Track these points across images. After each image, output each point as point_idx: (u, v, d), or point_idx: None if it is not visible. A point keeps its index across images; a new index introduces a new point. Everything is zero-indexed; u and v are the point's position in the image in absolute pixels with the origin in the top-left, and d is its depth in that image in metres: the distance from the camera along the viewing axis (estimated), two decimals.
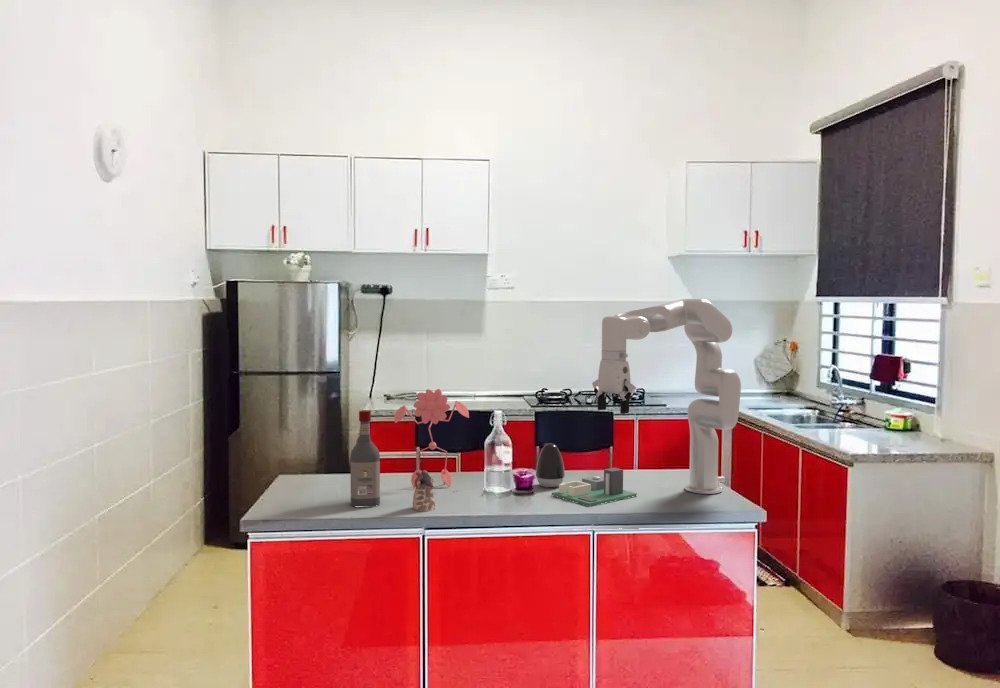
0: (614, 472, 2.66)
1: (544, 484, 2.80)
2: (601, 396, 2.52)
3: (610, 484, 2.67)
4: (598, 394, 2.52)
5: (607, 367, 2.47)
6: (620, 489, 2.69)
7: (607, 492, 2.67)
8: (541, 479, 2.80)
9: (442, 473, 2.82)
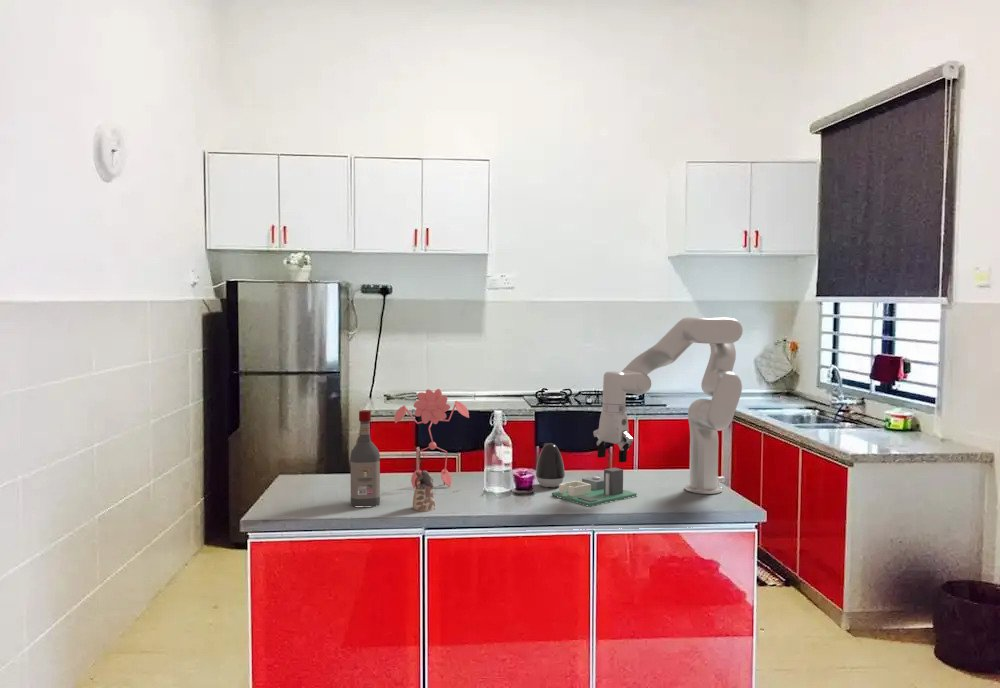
0: (614, 472, 2.66)
1: (544, 484, 2.80)
2: (601, 444, 2.72)
3: (610, 484, 2.67)
4: (598, 443, 2.72)
5: (607, 419, 2.67)
6: (620, 489, 2.69)
7: (607, 492, 2.67)
8: (541, 479, 2.80)
9: (442, 473, 2.82)
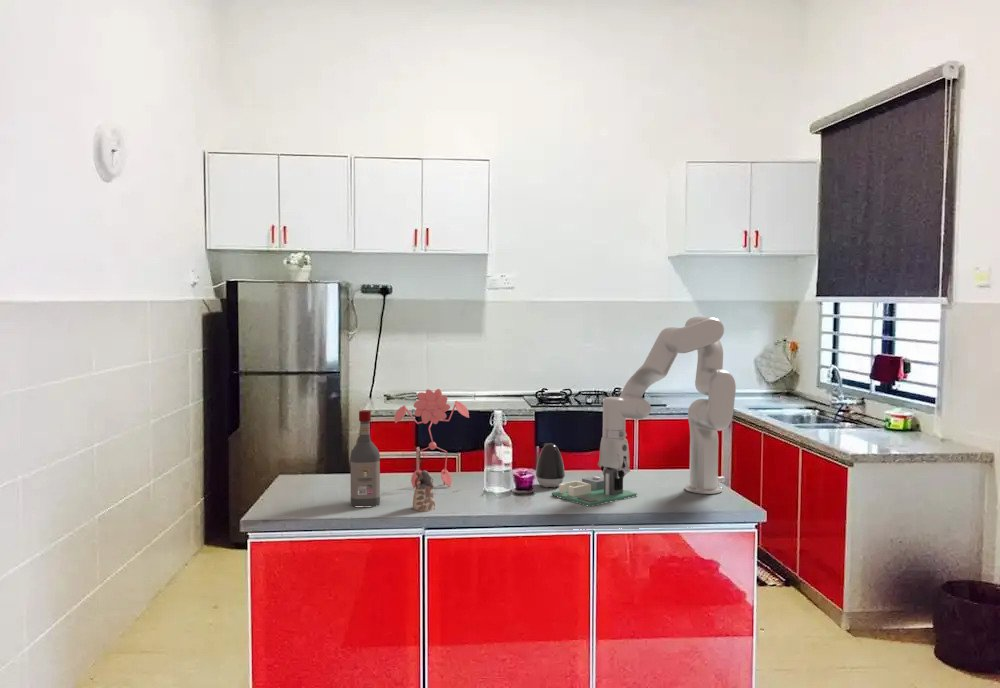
0: (614, 472, 2.66)
1: (544, 484, 2.80)
2: None
3: (610, 484, 2.67)
4: None
5: (608, 445, 2.67)
6: None
7: (607, 492, 2.67)
8: (541, 479, 2.80)
9: (442, 473, 2.82)
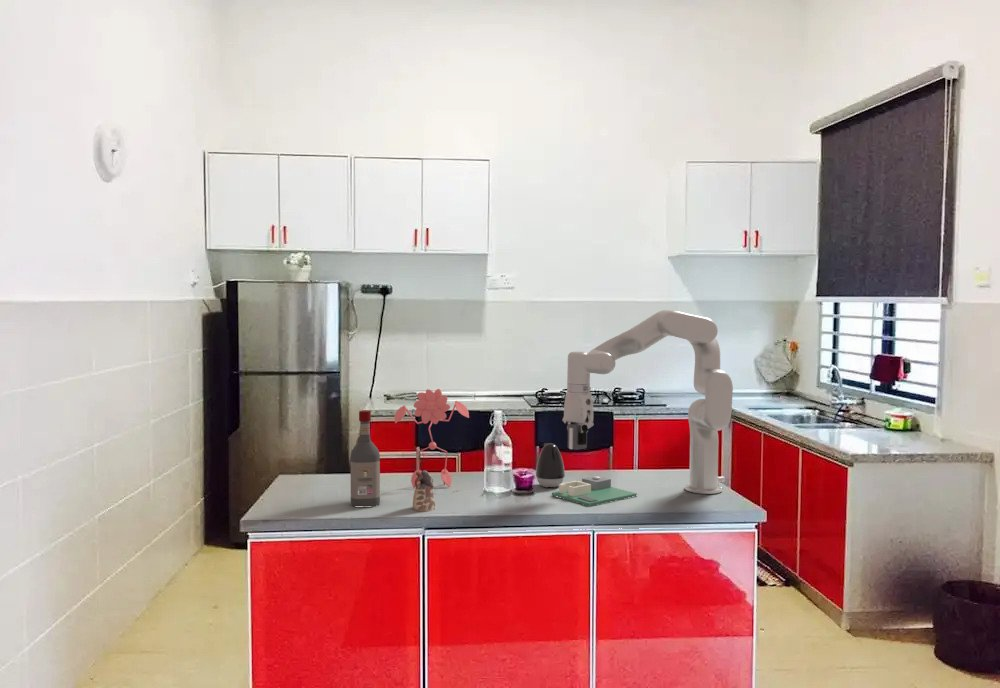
0: (578, 426, 2.66)
1: (544, 484, 2.80)
2: None
3: (574, 438, 2.66)
4: None
5: (572, 399, 2.66)
6: (584, 444, 2.68)
7: (571, 447, 2.67)
8: (541, 479, 2.80)
9: (442, 473, 2.82)
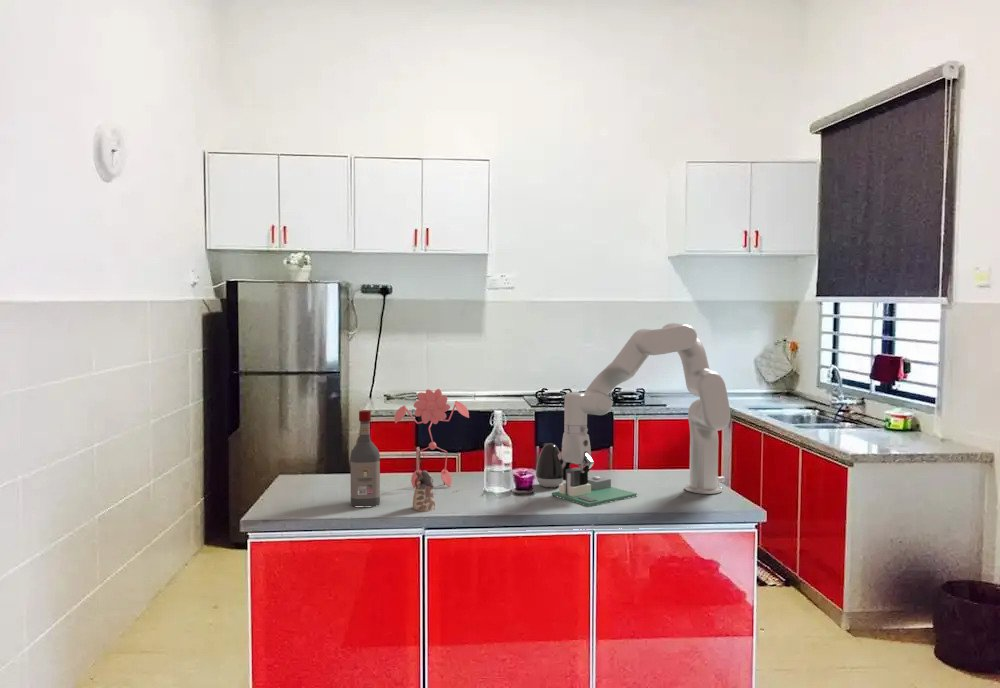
0: (575, 472, 2.67)
1: (544, 484, 2.80)
2: (566, 467, 2.72)
3: (571, 484, 2.67)
4: (563, 465, 2.72)
5: (569, 440, 2.67)
6: None
7: None
8: (541, 479, 2.80)
9: (442, 473, 2.82)
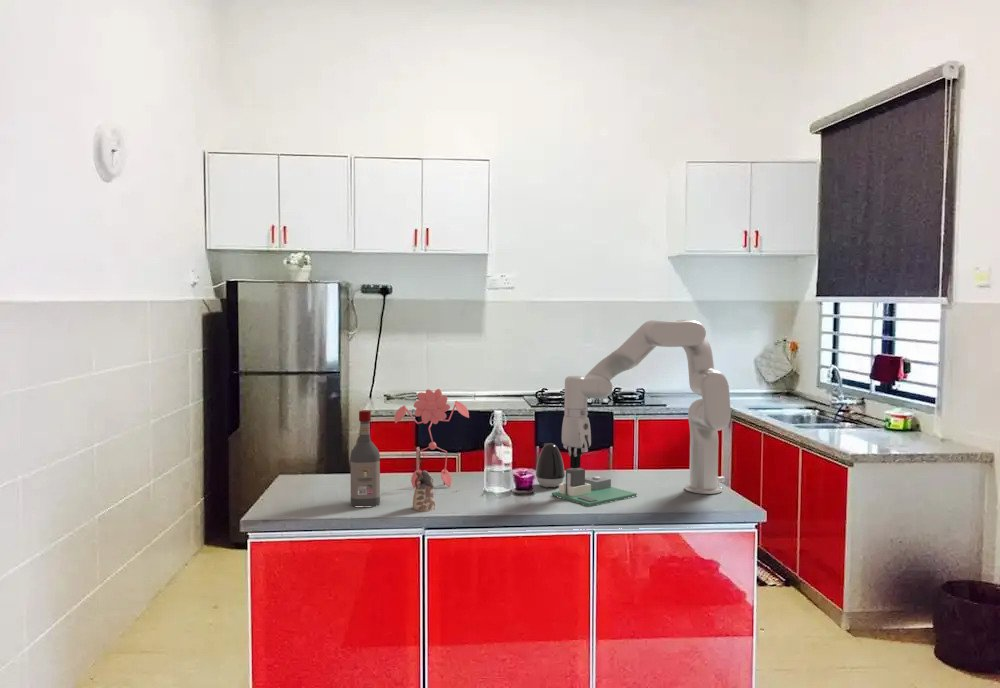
0: (575, 472, 2.67)
1: (544, 484, 2.80)
2: (573, 455, 2.69)
3: (571, 484, 2.67)
4: (570, 452, 2.69)
5: (569, 424, 2.67)
6: None
7: None
8: (541, 479, 2.80)
9: (442, 473, 2.82)
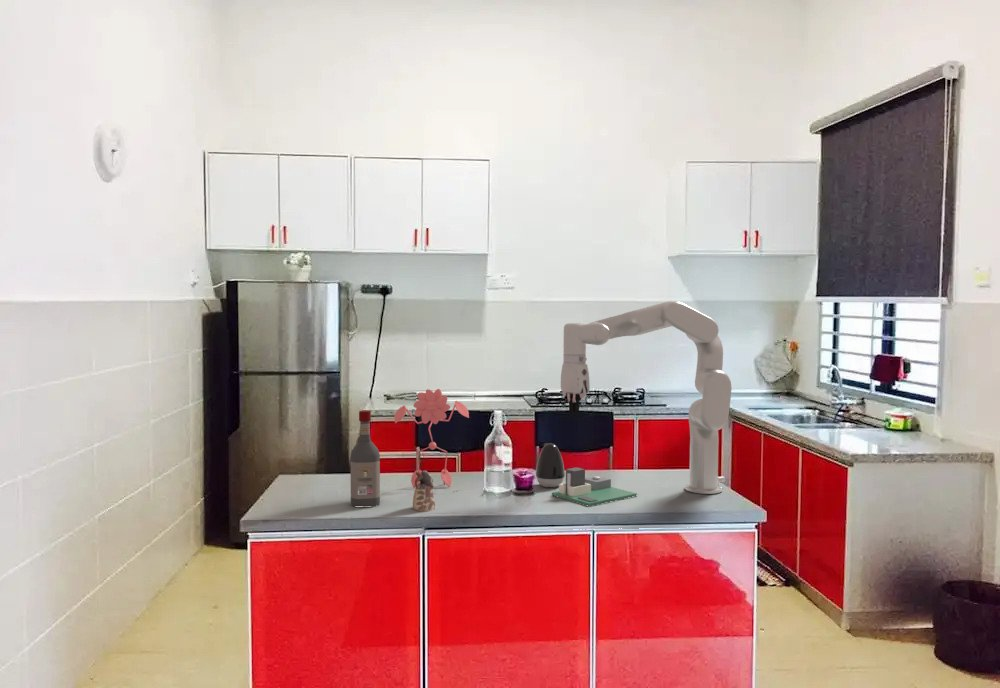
0: (575, 472, 2.67)
1: (544, 484, 2.80)
2: (572, 401, 2.73)
3: (571, 484, 2.67)
4: (569, 398, 2.73)
5: (568, 370, 2.71)
6: None
7: None
8: (541, 479, 2.80)
9: (442, 473, 2.82)
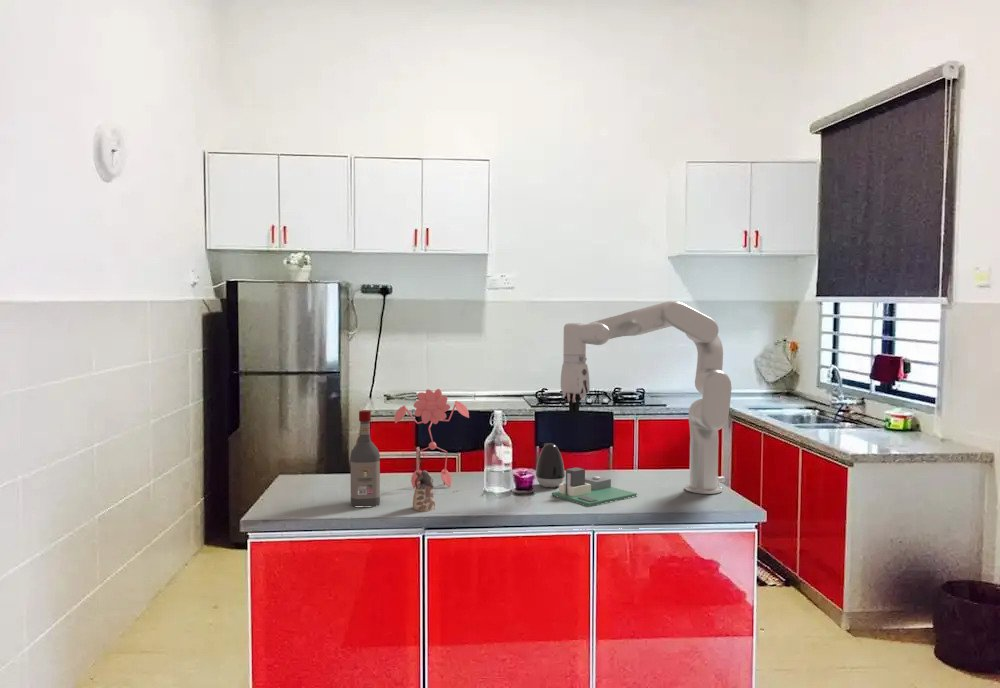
0: (575, 472, 2.67)
1: (544, 484, 2.80)
2: (572, 401, 2.73)
3: (571, 484, 2.67)
4: (569, 398, 2.73)
5: (568, 370, 2.71)
6: None
7: None
8: (541, 479, 2.80)
9: (442, 473, 2.82)
